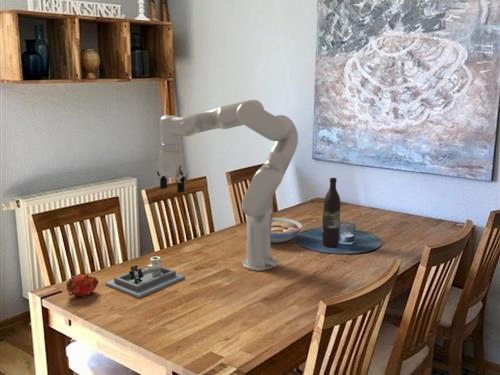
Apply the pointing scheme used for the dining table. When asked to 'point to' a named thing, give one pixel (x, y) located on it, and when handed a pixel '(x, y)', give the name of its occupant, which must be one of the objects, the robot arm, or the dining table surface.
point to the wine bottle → (331, 216)
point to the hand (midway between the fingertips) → (172, 190)
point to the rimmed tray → (144, 282)
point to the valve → (147, 270)
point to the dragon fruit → (81, 285)
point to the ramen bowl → (284, 229)
